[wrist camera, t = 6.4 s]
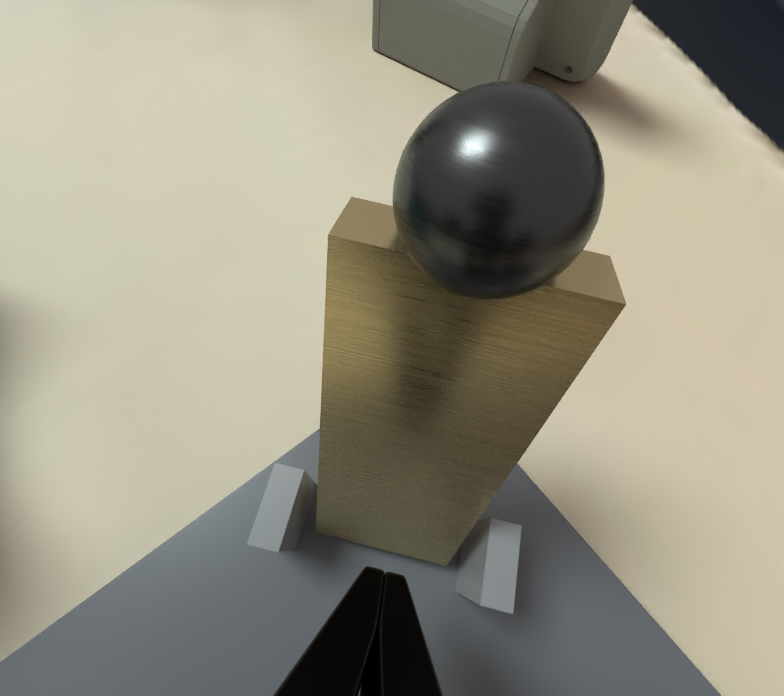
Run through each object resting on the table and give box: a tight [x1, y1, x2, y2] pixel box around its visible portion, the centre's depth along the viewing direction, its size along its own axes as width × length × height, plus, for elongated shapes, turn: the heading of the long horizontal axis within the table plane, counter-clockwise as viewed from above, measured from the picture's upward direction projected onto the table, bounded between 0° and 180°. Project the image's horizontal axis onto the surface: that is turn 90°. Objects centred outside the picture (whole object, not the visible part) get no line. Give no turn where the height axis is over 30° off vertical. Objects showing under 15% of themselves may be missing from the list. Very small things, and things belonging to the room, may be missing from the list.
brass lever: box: [316, 81, 626, 566], centre depth 9 cm, size 3×4×12 cm, turn 77°
